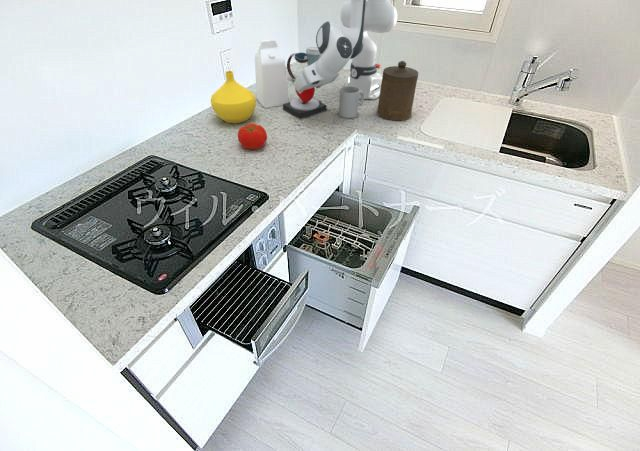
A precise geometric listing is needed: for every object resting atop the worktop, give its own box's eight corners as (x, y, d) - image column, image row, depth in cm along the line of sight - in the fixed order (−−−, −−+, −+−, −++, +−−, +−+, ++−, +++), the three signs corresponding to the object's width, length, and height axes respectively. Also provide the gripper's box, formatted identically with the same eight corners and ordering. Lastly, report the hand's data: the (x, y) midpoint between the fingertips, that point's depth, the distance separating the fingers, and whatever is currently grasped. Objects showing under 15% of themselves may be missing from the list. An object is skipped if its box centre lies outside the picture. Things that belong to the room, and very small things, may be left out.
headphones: (322, 85, 174) (293, 79, 186) (321, 53, 164) (290, 49, 177) (314, 88, 170) (285, 82, 183) (312, 56, 161) (281, 51, 173)
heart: (317, 105, 149) (317, 82, 142) (307, 108, 147) (307, 85, 140) (301, 97, 156) (301, 75, 149) (292, 100, 153) (291, 77, 147)
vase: (215, 130, 137) (205, 81, 124) (213, 111, 150) (204, 66, 137) (260, 125, 141) (255, 78, 128) (254, 108, 154) (249, 63, 141)
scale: (308, 101, 161) (308, 94, 159) (326, 110, 153) (326, 103, 151) (283, 109, 153) (282, 102, 151) (300, 119, 146) (300, 111, 144)
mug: (345, 119, 146) (347, 94, 139) (334, 112, 152) (336, 87, 144) (367, 114, 151) (370, 89, 144) (356, 107, 156) (358, 83, 149)
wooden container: (401, 105, 159) (410, 55, 144) (416, 118, 148) (427, 65, 134) (372, 108, 155) (378, 57, 141) (385, 122, 145) (394, 68, 130)
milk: (280, 95, 166) (276, 36, 148) (288, 103, 158) (286, 42, 141) (256, 98, 162) (250, 38, 144) (264, 108, 154) (258, 45, 137)
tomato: (250, 136, 133) (248, 118, 128) (273, 143, 129) (271, 125, 124) (232, 147, 126) (229, 129, 121) (255, 155, 122) (253, 136, 117)
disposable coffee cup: (307, 73, 191) (306, 44, 181) (325, 74, 190) (326, 45, 180) (304, 79, 183) (304, 49, 173) (324, 80, 182) (325, 50, 172)
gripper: (339, 59, 138) (323, 77, 150) (300, 68, 128) (286, 87, 140) (346, 73, 138) (330, 90, 150) (307, 84, 128) (293, 101, 140)
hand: (308, 89), depth 145 cm, fingers open, 8 cm apart
